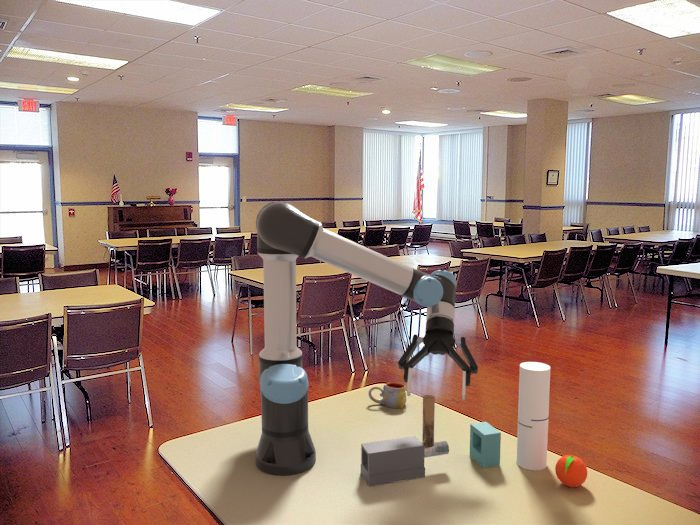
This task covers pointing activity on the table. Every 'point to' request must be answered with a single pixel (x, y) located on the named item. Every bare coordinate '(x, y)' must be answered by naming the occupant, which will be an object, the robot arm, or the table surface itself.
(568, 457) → the clementine
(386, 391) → the mug
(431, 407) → the sliding bolt
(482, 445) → the end socket
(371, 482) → the outer sleeve
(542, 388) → the cylindrical container
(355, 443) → the table surface
